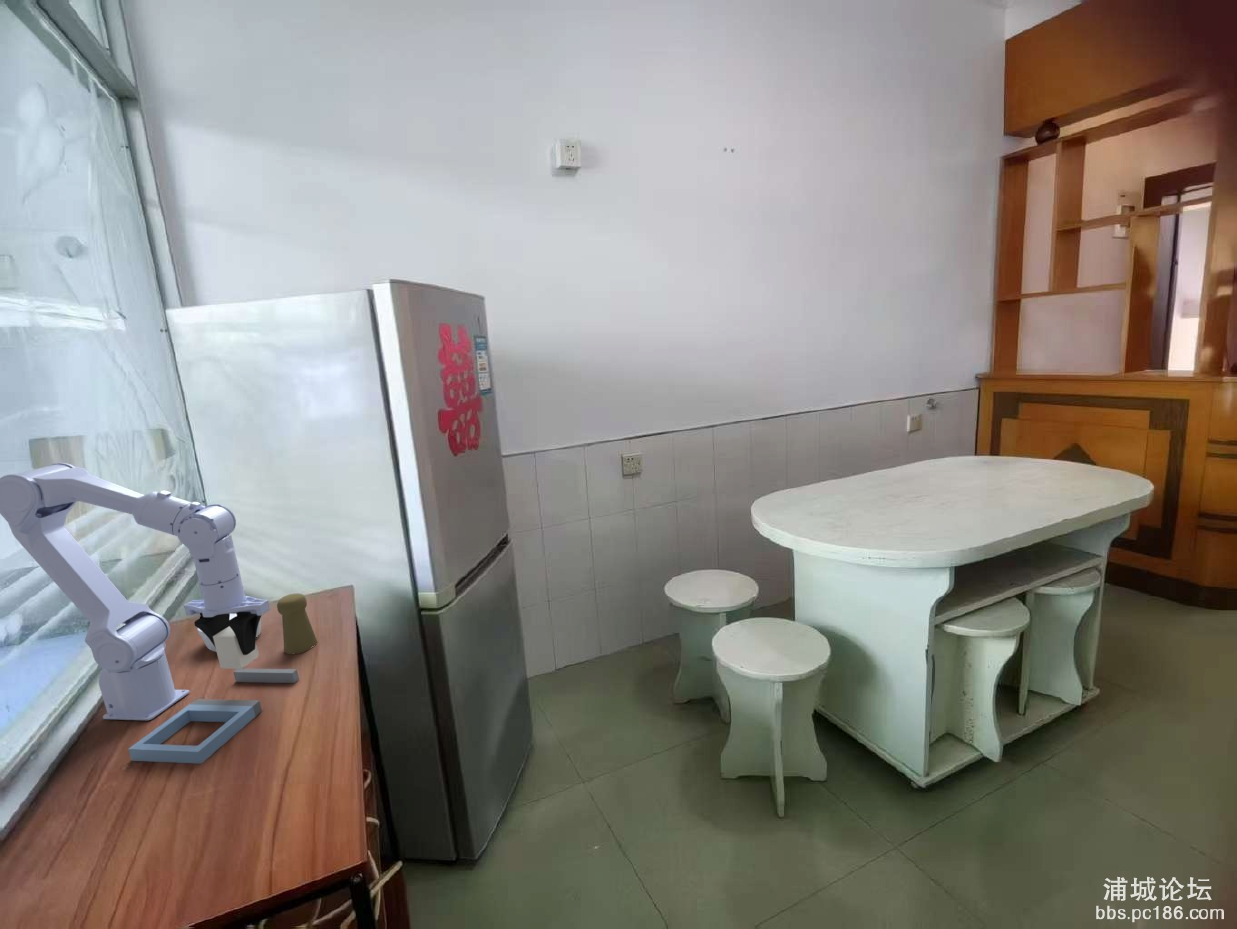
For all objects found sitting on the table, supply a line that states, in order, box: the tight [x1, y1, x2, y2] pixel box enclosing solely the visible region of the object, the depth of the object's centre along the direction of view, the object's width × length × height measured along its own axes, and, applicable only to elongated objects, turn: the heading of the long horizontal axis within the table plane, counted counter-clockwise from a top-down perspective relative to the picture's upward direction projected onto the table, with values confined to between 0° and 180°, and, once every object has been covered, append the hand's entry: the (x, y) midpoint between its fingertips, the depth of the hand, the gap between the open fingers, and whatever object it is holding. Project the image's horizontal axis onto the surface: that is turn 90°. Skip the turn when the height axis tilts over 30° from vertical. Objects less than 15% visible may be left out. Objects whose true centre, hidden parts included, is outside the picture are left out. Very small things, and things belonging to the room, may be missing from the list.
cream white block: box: [213, 626, 260, 670], centre depth 100 cm, size 4×4×6 cm
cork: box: [276, 593, 318, 655], centre depth 117 cm, size 6×6×11 cm
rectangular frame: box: [128, 667, 300, 764], centre depth 97 cm, size 12×21×2 cm, turn 171°
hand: (237, 651), depth 100 cm, fingers closed on cream white block, 4 cm apart
